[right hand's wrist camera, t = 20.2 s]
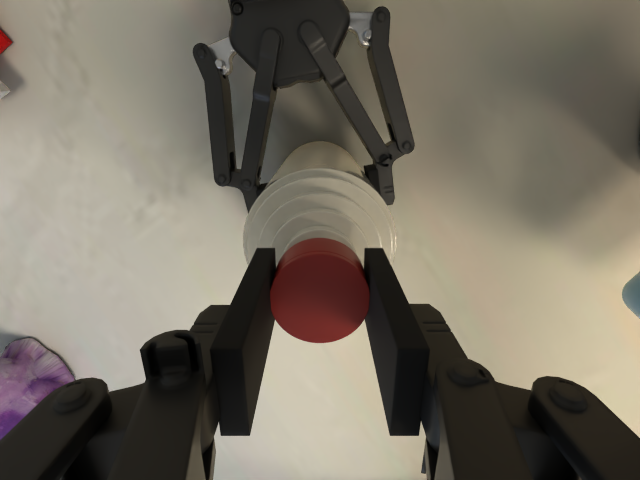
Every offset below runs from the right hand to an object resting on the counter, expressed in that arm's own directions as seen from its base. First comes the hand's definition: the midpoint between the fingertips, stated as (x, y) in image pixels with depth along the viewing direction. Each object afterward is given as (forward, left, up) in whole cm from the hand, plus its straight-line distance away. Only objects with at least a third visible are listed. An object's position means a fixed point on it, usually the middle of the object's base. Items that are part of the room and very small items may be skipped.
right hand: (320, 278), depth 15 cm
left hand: (-2, +4, -15) cm, 16 cm away
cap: (0, 0, +2) cm, 2 cm away
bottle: (0, 0, -21) cm, 21 cm away
